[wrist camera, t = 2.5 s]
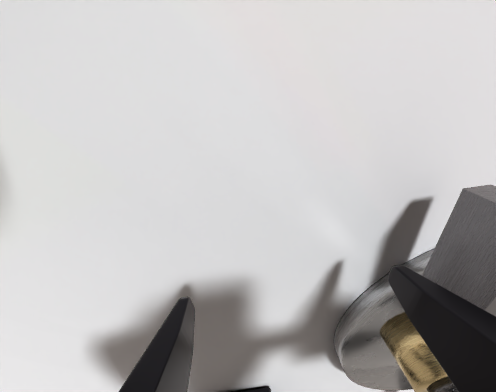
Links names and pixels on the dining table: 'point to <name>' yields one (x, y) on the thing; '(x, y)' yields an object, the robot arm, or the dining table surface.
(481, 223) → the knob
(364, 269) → the dining table surface
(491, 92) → the dining table surface
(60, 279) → the dining table surface
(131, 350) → the dining table surface
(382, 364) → the levelling base
